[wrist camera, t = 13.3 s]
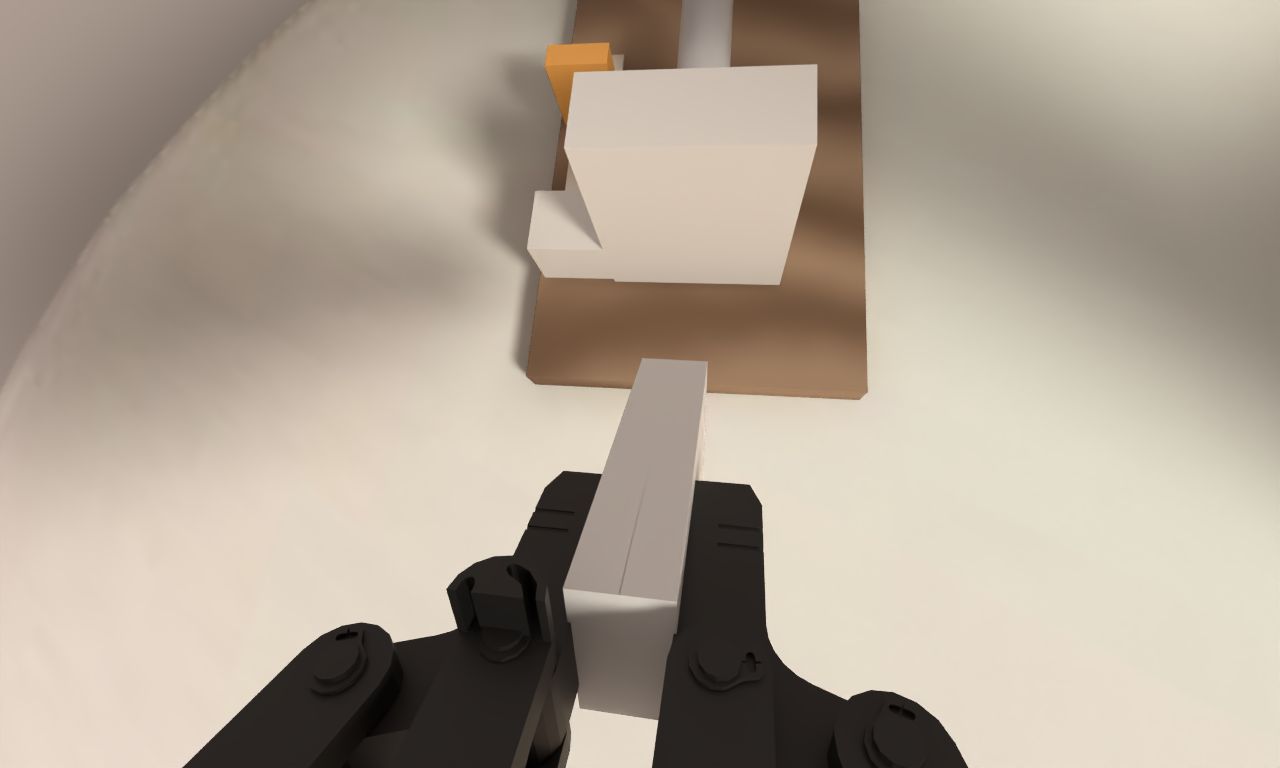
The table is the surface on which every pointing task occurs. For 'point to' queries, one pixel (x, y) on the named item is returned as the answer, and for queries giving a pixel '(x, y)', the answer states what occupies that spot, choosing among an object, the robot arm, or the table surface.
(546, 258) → the white stepped block
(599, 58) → the orange flat block
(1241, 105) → the table surface
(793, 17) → the bench
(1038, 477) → the table surface
